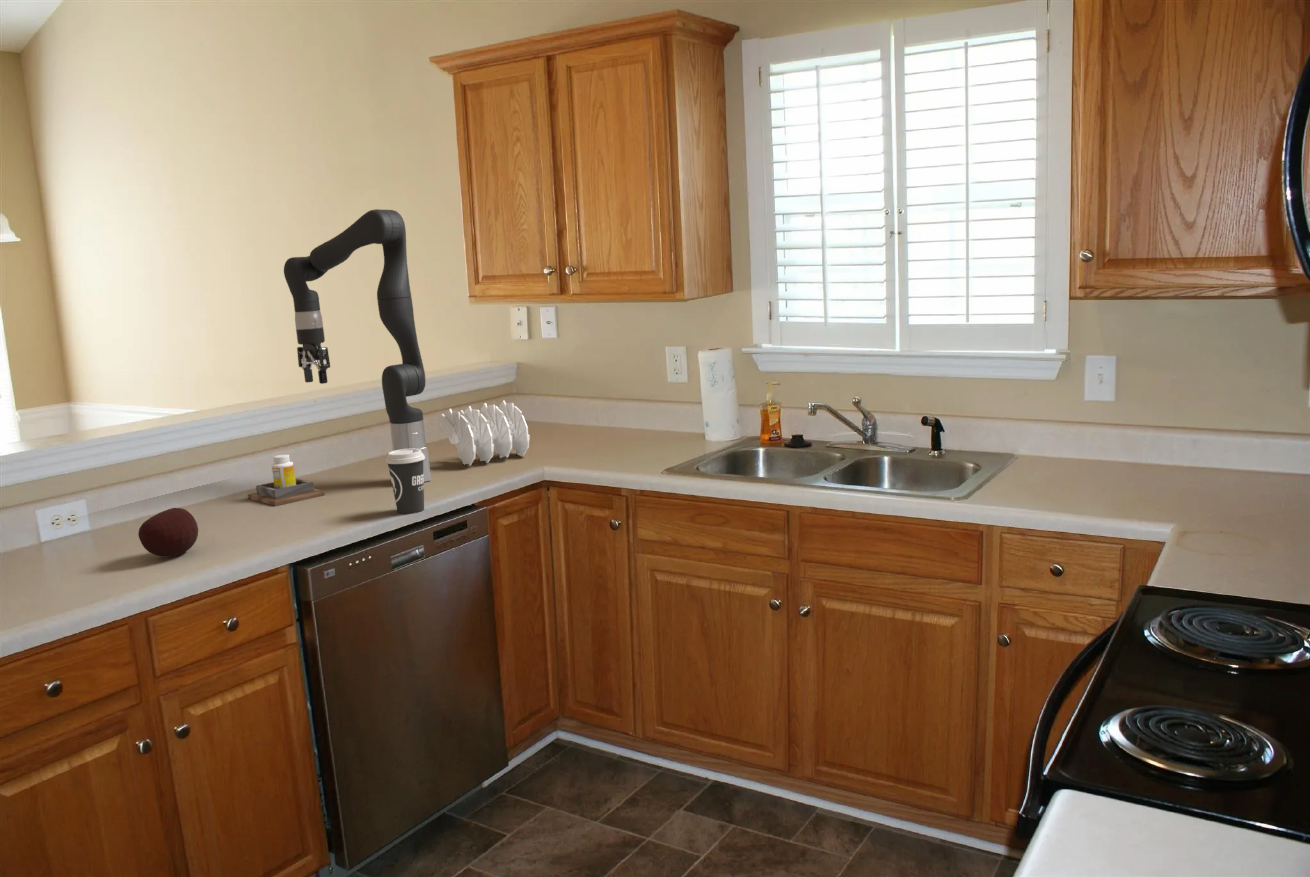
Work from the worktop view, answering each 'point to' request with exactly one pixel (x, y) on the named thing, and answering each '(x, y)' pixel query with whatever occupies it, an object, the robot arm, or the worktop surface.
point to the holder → (285, 493)
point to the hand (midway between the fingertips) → (316, 382)
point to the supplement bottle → (283, 472)
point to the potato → (169, 532)
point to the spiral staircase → (486, 431)
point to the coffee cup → (407, 479)
